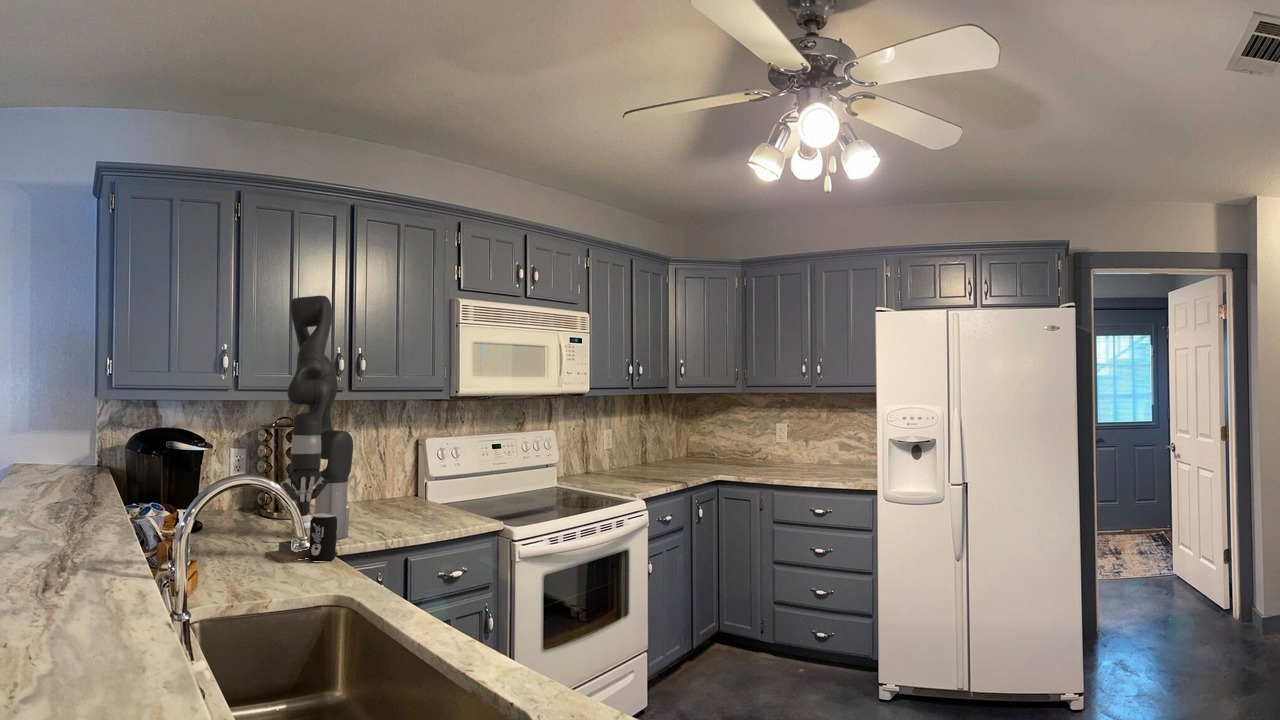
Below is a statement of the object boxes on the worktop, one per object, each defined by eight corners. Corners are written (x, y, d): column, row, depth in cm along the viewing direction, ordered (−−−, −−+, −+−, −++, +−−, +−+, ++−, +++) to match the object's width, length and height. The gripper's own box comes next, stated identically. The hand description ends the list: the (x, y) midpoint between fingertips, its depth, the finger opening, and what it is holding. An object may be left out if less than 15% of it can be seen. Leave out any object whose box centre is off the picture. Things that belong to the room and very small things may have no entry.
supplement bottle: (315, 551, 191) (317, 515, 192) (294, 554, 188) (296, 517, 188) (308, 548, 195) (309, 513, 196) (287, 550, 191) (289, 515, 192)
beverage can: (337, 561, 185) (339, 515, 186) (310, 564, 181) (312, 517, 182) (333, 557, 190) (335, 512, 191) (306, 559, 187) (309, 513, 188)
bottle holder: (316, 549, 200) (317, 536, 200) (335, 555, 193) (336, 541, 193) (264, 556, 189) (265, 542, 189) (283, 562, 182) (283, 548, 182)
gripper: (323, 450, 201) (319, 511, 199) (275, 451, 190) (271, 516, 189) (336, 451, 196) (332, 514, 195) (287, 453, 186) (284, 519, 184)
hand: (302, 515), depth 192 cm, fingers closed
